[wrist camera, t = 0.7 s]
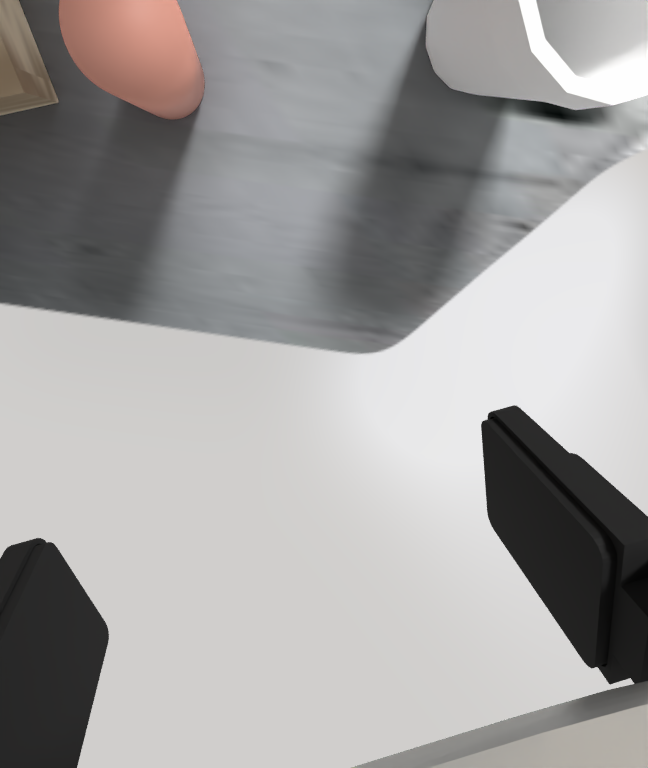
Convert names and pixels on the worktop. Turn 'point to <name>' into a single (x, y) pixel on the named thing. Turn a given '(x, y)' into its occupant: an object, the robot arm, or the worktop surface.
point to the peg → (135, 52)
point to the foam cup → (542, 49)
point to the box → (21, 64)
